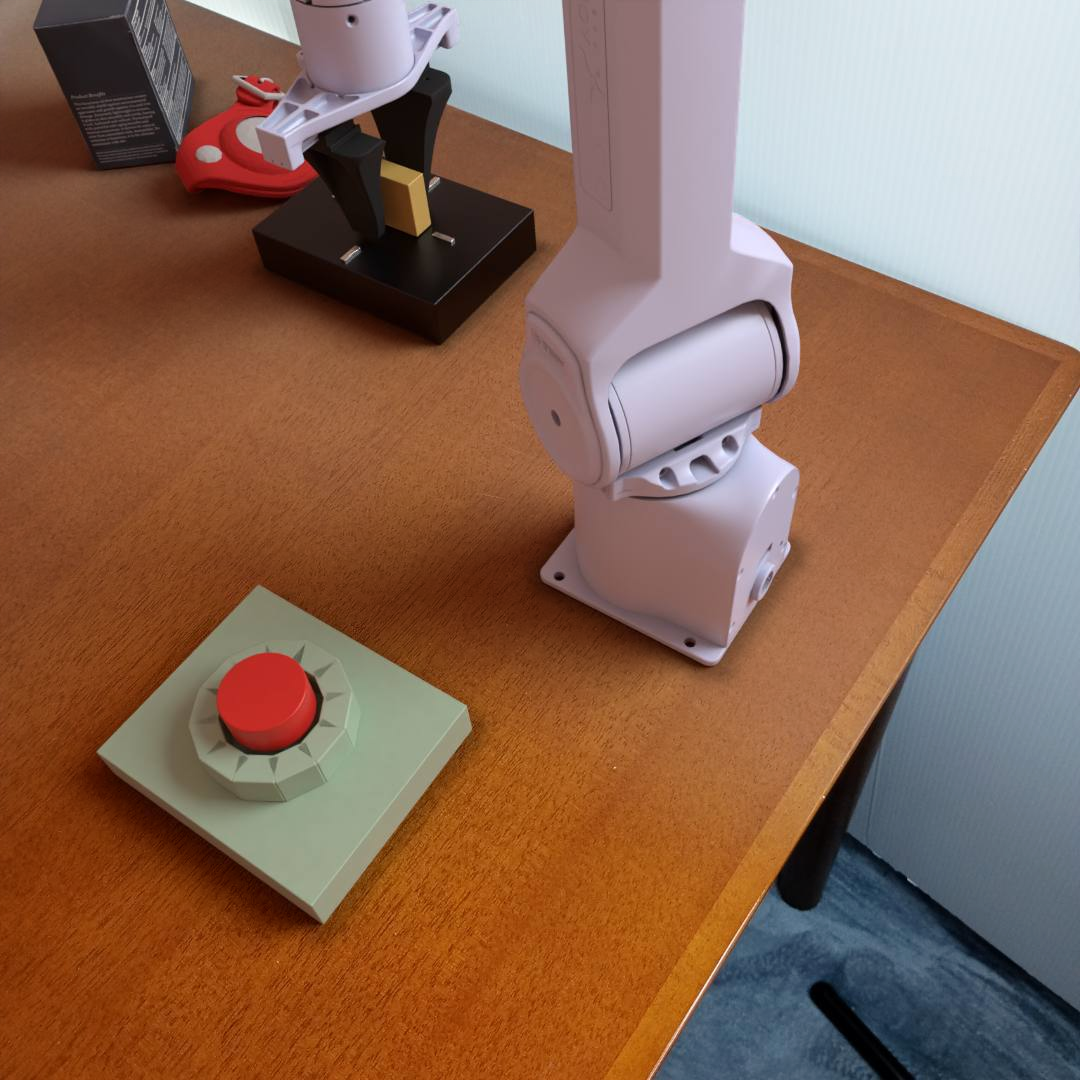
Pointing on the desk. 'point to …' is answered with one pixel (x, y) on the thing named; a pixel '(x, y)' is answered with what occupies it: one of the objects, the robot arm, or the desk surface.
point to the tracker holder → (239, 148)
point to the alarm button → (266, 701)
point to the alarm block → (292, 754)
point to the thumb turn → (404, 198)
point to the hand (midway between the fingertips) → (390, 212)
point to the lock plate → (402, 255)
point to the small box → (120, 76)
